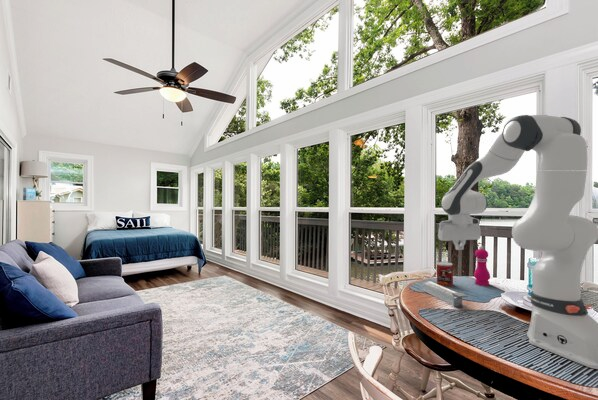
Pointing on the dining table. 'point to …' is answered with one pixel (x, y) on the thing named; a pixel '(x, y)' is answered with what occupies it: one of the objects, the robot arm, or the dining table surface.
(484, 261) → the pepper mill
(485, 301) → the dining table surface
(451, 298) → the tongs fixed handle
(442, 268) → the canned food
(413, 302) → the dining table surface
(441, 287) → the hinged handle
